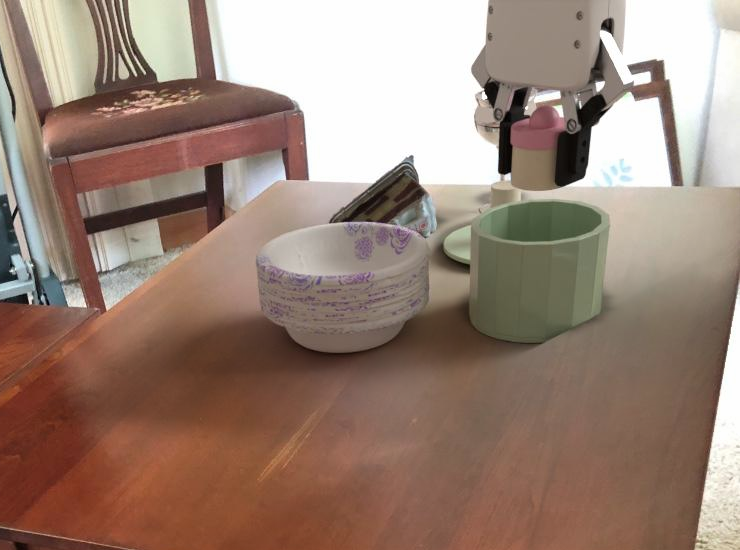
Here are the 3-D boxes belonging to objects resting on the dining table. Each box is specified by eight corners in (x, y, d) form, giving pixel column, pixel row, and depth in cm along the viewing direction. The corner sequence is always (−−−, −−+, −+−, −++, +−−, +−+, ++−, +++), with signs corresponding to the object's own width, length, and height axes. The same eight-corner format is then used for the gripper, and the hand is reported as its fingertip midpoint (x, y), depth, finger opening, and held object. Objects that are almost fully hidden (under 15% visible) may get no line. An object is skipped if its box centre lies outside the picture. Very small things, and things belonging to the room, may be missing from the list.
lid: (584, 261, 96) (590, 192, 92) (464, 280, 95) (465, 212, 91) (539, 223, 105) (542, 159, 101) (429, 240, 104) (429, 177, 100)
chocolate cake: (352, 263, 103) (429, 169, 98) (320, 228, 106) (393, 136, 102) (398, 298, 110) (472, 212, 105) (367, 264, 114) (437, 180, 109)
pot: (620, 330, 83) (633, 231, 77) (493, 351, 82) (497, 253, 77) (569, 283, 92) (577, 191, 86) (454, 302, 91) (455, 211, 86)
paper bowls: (443, 301, 91) (444, 216, 86) (410, 374, 80) (408, 281, 75) (292, 297, 96) (284, 216, 91) (241, 365, 85) (229, 277, 80)
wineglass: (466, 202, 113) (468, 90, 105) (524, 196, 113) (530, 83, 105) (477, 221, 108) (480, 104, 100) (537, 214, 108) (545, 96, 100)
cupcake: (585, 179, 79) (593, 102, 75) (545, 195, 77) (550, 117, 73) (535, 169, 82) (540, 95, 79) (495, 185, 80) (498, 109, 76)
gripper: (698, -103, 64) (658, 181, 76) (501, -97, 75) (492, 150, 86) (630, -87, 61) (598, 207, 72) (434, -84, 72) (434, 171, 83)
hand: (540, 173), depth 79 cm, fingers closed on cupcake, 5 cm apart
